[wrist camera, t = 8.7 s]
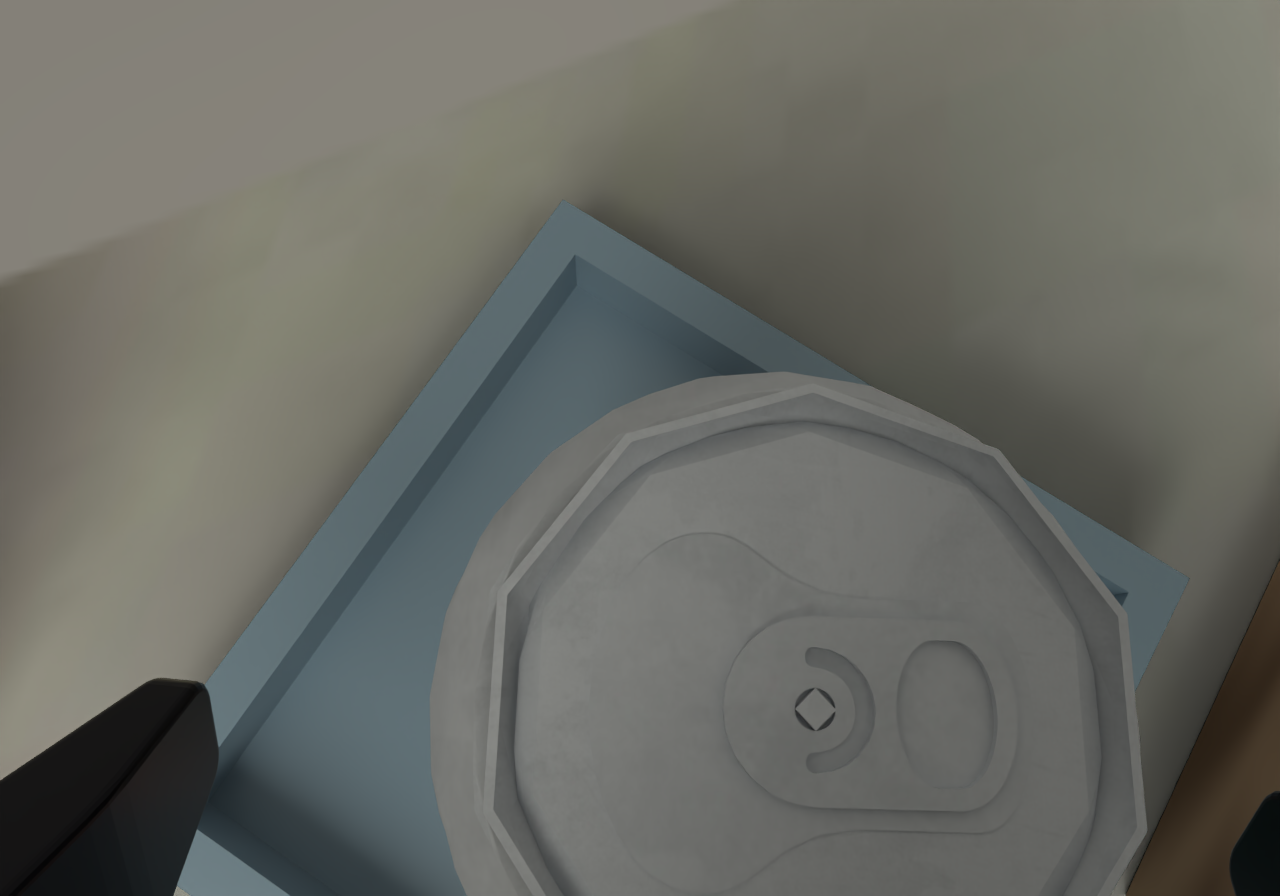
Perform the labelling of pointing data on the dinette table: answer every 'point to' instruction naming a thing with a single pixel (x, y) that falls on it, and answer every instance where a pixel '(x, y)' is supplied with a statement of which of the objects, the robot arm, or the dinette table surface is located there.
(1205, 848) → the frame
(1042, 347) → the dinette table surface
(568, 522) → the beer can
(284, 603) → the tray
